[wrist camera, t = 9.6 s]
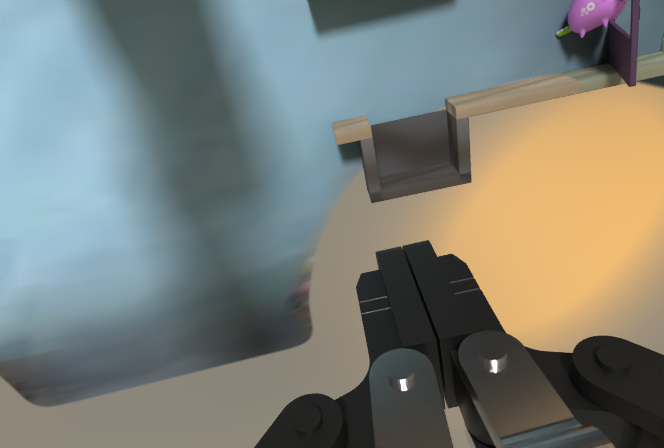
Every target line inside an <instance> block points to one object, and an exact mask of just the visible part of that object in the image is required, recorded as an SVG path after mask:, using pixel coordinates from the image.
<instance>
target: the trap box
mask: <svg viewBox="0 0 664 448" xmlns="http://www.w3.org/2000/svg"><path fill="white" fill-rule="evenodd" d="M662 75H664V36H663V42H662V48H661V52H657V53H652V54H648V55H643V56H638V57H637V74H636V81H639V80H644V79H648V78H653V77H658V76H662ZM625 83H626V82H625V81H624V80H623V79H622V78H621V76H620V75H619V74H618V72H617V71H616V70H615V69H614V68H613V67H612V65H611V64H610V63H606V64H601V65H597V66H592V67H588V68H583V69H578V70H574V71H569V72H564V73H560V74H555V75H551V76H546V77H541V78H537V79H532V80H528V81H523V82H518V83H514V84H509V85H504V86H500V87H495V88H491V89H486V90H481V91H477V92H472V93H468V94H463V95H458V96H454V97H449V98H445V103H446V110H442V111H437V112H432V113H428V114H423V115H418V116H414V117H409V118H405V119H400V120H395V121H391V122H386V123H381V124H377V125H372V126H370V123H369V121H368V119H367V117H366V116H361V117H357V118H352V119H348V120H343V121H338V122H334V123H332V124H333V129H334V134H335V138H336V143H337V145H340V144H345V143H350V142H354V141H359V145H360V151H361V157H362V162H363V168H364V173H365V179H366V185H367V190H368V193H369V196H370V199H371V202H372V203H374V202H379V201H384V200H389V199H393V198H398V197H403V196H408V195H413V194H418V193H422V192H427V191H431V190H437V189H442V188H446V187H451V186H456V185H461V184H466V183H470V182H471V162H470V139H469V117H471V116H475V115H480V114H485V113H489V112H494V111H499V110H503V109H508V108H513V107H518V106H522V105H526V104H531V103H536V102H541V101H546V100H550V99H554V98H559V97H564V96H569V95H573V94H578V93H583V92H588V91H592V90H597V89H601V88H606V87H611V86H616V85H620V84H625Z"/></svg>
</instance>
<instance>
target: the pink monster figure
mask: <svg viewBox="0 0 664 448" xmlns="http://www.w3.org/2000/svg"><path fill="white" fill-rule="evenodd" d="M626 1H627V0H574V1H573V3H572V5H571V7H570V9H569V13H568V24H569V26H567V27H565V28H563V30H562V29H561V30H560V31H561V32H560V31H558V32H557V33H556V34H557V36H558V37H560V36H563V35H566V34H567V33H570V32H571V31H573V32H575V33H580V36H581V38H583V37H584V35H585V32H588V31H591V30H593V29H594V28H596V27H598V26H600V25H602V24H603V25H604V26H605V27H607V24H608V21H609V63H610V64H611V65H612V67H613V68H614V69H615V70H616V71H617V72H618V74H619V75H620V76H621V78H622V79H623V80H624V81H625V82H626V84H627V85H628V86H629V87H631V86H635V85H636V74H637V50H638V26H639V19H640V6H639V3H640V0H631V29H630V35H629V34H628V33H627V32H625V31H624V30H623V29H622V28H621V27H619V26H618V25H617V24H616V23H615V18H616V19H617V16H618V15H619V14H620V13H621V12H622V10H623V9H624V7H625V4H626Z"/></svg>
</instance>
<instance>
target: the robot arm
mask: <svg viewBox="0 0 664 448" xmlns="http://www.w3.org/2000/svg"><path fill="white" fill-rule="evenodd" d="M376 258H377V263H378V268H379V270H376V271H371V272H366V273H362V274H361V275H360V278H359V281H358V284H357V286H356V289H357V295H358V300H359V305H360V310H361V316H362V321H363V326H364V331H365V336H366V342H367V347H368V353H369V358H370V366H369V370H368V373H367V375H366V377H365V378H364V380H363V381H362V382H361V383H360V385H359V386H357V387H356V388H355V389H354V390H352V391H350V392H349V393H347V394H345V395H343V396H341V397H339V398H338V399H336V400H333V399H332V398H330V397H329V396H326V395H323V394H307V395H304V396H301V397H298V398H296V399H295V400H293V401H292V402H290V403H289V404H288V405H287V406H286V407H285V408H284V409H283V411H282V412H281V413H280V415H279V416H278V417H277V418H276V420H275V421H274V422H273V424H272V425H271V426H270V428H269V429H268V430H267V432H266V433H265V434H264V435H263V437H262V438H261V439H260V441H259V442H258V443H257V445H256V446H255V447H254V448H453V444H452V439H451V436H450V431H449V427H448V423H447V420H446V415H445V411H444V409H445V402H444V398H445V401H446V404H447V406H448V408H452V407H457V406H459V408H460V411H461V413H462V416H463V418H464V422H465V432H466V437H467V440H468V442H469V444H470V447H471V448H664V355H662V354H659V353H657V352H655V351H652V350H650V349H647V348H645V347H642V346H640V345H637V344H634V343H632V342H630V341H627V340H624V339H621V338H617V337H613V336H612V337H611V336H593V337H590V338H587V339H584V340H582V341H581V342H579V343H578V344H577V345H576V347H575V349H574V351H573V353H563V352H547V351H539V350H534V349H531V348H528V347H525V346H523V345H522V343H521V342H520V341H518V340H517V339H516V338H514V337H513V336H511V335H509V334H507V333H506V332H505V331H504V329H503V327H502V326H501V324H500V322H499V321H498V319H497V317H496V315H495V314H494V312H493V310H492V308H491V306H490V305H489V303H488V301H487V300H486V298H485V296H484V294H483V292H482V291H481V290H480V288H479V285H478V284H477V282H476V280H475V279H474V277H473V275H472V273H471V271H470V270H469V268H468V266H467V264H466V263H465V262H463V261H462V260H460V259H459V258H458V257H456V256H455V255H453V254H448V255H444V256H439V257H437V256H436V253H435V252H434V249H433V247H432V245H431V243H430V242H429V240H427V241H422V242H418V243H413V244H409V245H405V246H403V250H402V248H401V247H396V248H391V249H387V250H383V251H378V252H376Z"/></svg>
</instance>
